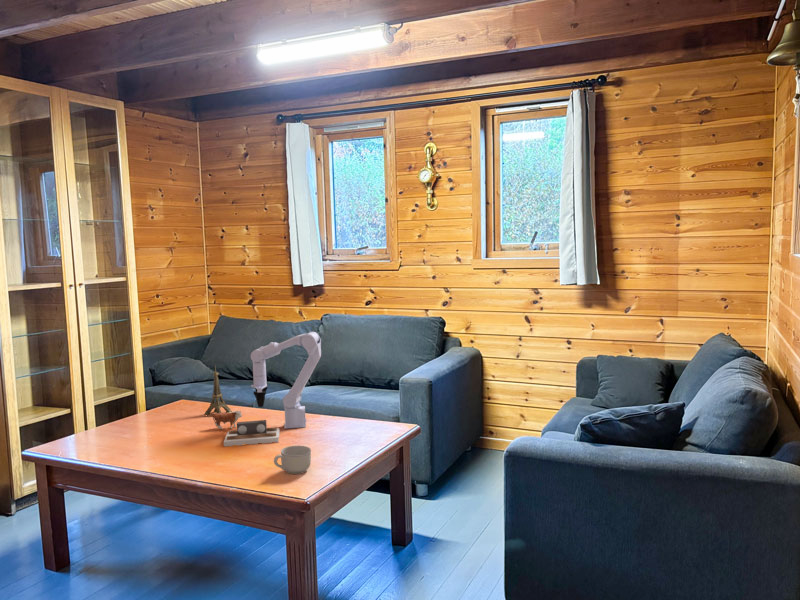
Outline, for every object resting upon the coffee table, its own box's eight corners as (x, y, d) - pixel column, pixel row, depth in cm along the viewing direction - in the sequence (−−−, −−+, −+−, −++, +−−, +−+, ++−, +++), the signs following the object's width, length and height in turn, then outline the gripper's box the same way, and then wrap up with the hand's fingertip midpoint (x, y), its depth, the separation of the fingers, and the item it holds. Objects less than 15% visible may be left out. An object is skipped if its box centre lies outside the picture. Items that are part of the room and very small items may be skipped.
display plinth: (279, 432, 274) (279, 425, 274) (278, 442, 260) (278, 434, 260) (227, 436, 270) (227, 429, 270) (224, 446, 257) (223, 438, 256)
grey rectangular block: (266, 432, 268) (266, 419, 267) (266, 434, 265) (265, 421, 264) (238, 434, 266) (237, 422, 265) (237, 437, 263) (236, 424, 262)
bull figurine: (242, 429, 282) (241, 411, 281) (212, 429, 282) (211, 412, 281) (244, 426, 286) (243, 408, 286) (215, 427, 286) (214, 409, 286)
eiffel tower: (216, 410, 317) (213, 362, 315) (233, 412, 313) (230, 362, 311) (202, 416, 308) (199, 365, 306) (219, 417, 304) (216, 366, 302)
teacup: (306, 464, 232) (305, 443, 231) (316, 472, 222) (315, 450, 222) (269, 471, 225) (268, 449, 225) (278, 480, 216) (277, 458, 215)
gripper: (251, 372, 290) (253, 401, 291) (249, 378, 276) (251, 409, 277) (267, 371, 291) (268, 400, 292) (265, 377, 277) (267, 408, 278)
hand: (261, 404), depth 285 cm, fingers open, 7 cm apart
